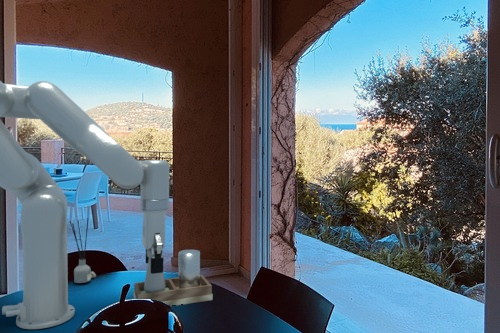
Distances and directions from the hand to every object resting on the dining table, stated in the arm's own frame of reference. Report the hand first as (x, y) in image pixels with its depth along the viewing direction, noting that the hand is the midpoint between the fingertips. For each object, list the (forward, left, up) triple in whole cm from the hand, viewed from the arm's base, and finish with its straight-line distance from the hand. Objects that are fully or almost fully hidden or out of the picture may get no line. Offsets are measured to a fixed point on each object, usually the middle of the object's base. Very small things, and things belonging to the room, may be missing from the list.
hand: (154, 267), depth 102 cm
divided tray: (+5, 0, -9) cm, 11 cm away
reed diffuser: (-19, +24, -10) cm, 32 cm away
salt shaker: (0, 0, -8) cm, 8 cm away
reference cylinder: (+10, 0, -8) cm, 12 cm away
